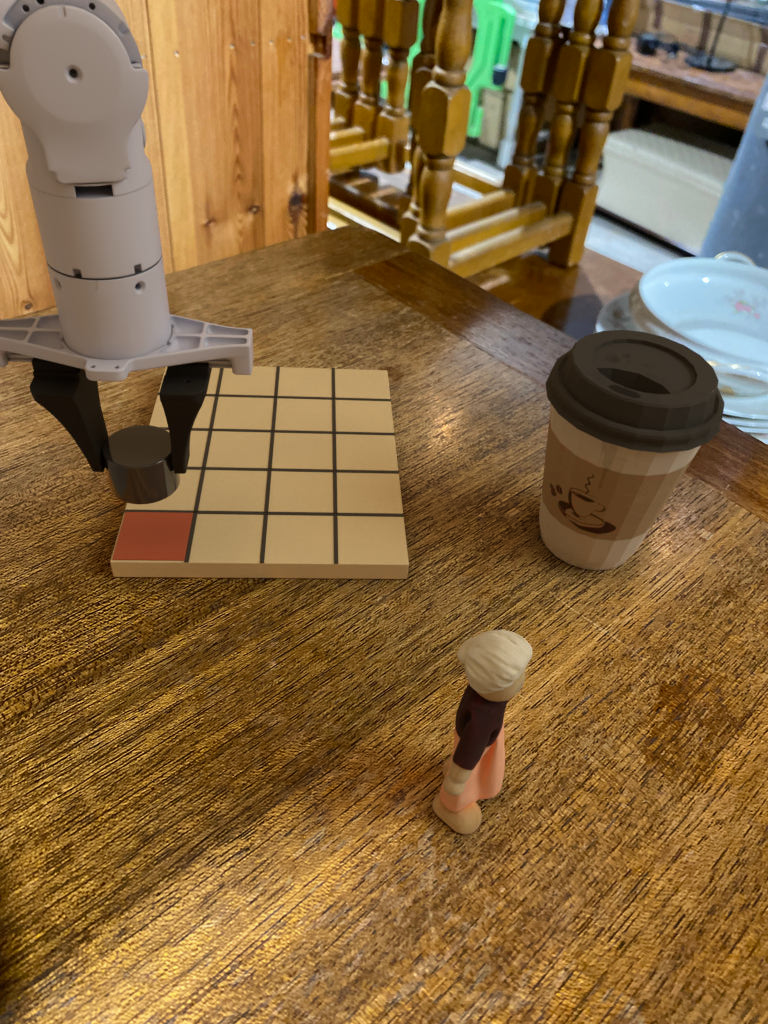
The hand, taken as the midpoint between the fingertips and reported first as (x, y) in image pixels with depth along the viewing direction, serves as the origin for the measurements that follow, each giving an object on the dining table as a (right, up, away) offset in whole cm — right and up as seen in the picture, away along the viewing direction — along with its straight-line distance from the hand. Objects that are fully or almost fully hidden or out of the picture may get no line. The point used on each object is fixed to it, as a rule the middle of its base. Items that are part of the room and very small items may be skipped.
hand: (141, 463), depth 49 cm
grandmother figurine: (+20, -18, -6) cm, 28 cm away
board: (+6, +1, +14) cm, 15 cm away
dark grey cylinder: (0, -1, +1) cm, 2 cm away
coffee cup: (+31, -5, +10) cm, 33 cm away
